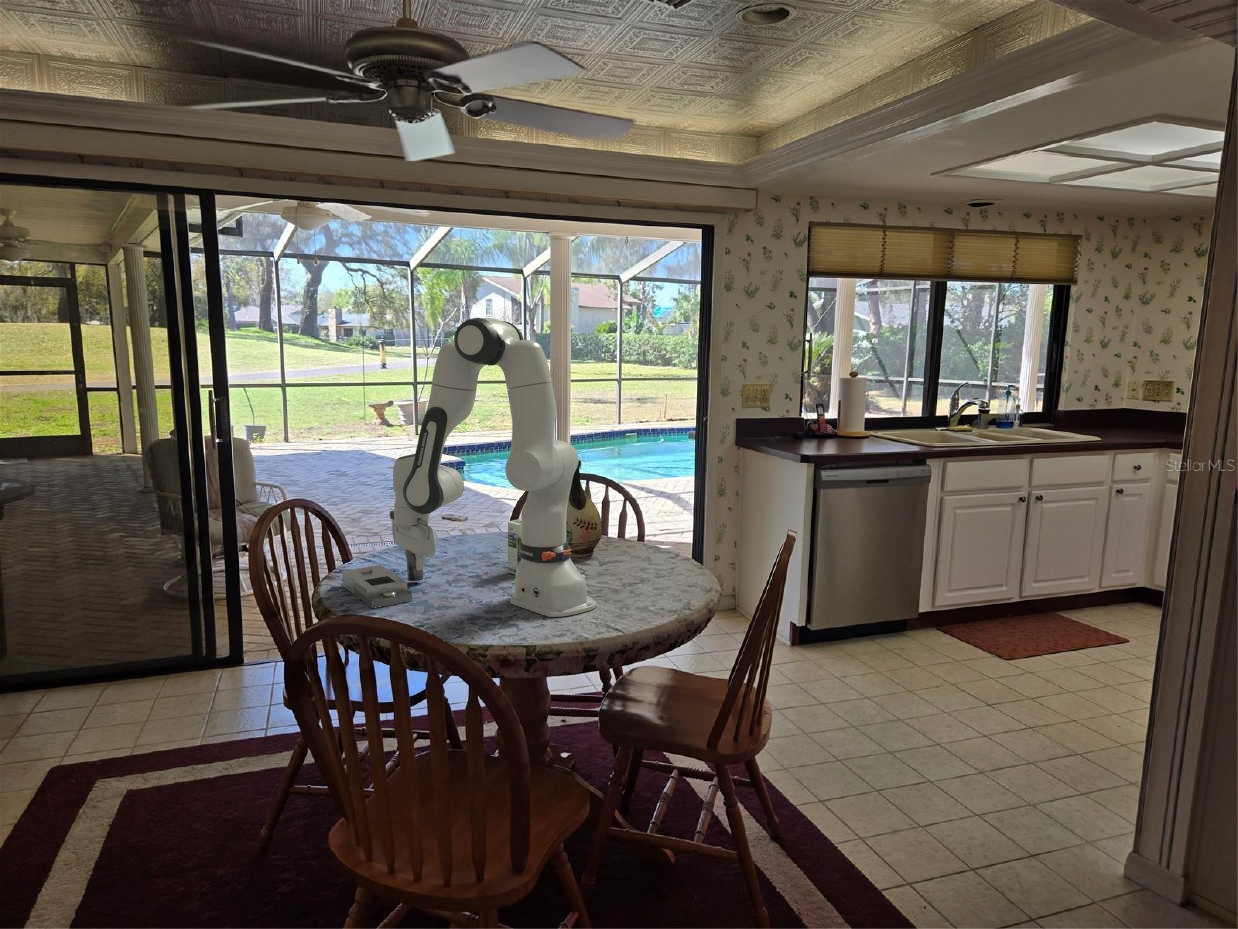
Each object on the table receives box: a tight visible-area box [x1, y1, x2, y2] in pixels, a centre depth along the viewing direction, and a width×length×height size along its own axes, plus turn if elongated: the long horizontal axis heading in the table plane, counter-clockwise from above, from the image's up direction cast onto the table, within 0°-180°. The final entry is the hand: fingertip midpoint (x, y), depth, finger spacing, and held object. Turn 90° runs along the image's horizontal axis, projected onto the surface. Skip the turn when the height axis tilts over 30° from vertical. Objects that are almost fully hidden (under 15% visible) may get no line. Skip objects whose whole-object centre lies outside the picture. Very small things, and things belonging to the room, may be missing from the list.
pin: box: [406, 550, 424, 582], centre depth 203 cm, size 4×4×9 cm
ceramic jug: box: [566, 459, 604, 558], centre depth 231 cm, size 17×15×30 cm
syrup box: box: [507, 519, 522, 576], centre depth 213 cm, size 6×6×14 cm
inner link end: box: [353, 588, 413, 609], centre depth 191 cm, size 13×10×3 cm
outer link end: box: [341, 564, 408, 598], centre depth 196 cm, size 19×10×5 cm, turn 37°
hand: (415, 567), depth 203 cm, fingers closed on pin, 4 cm apart
